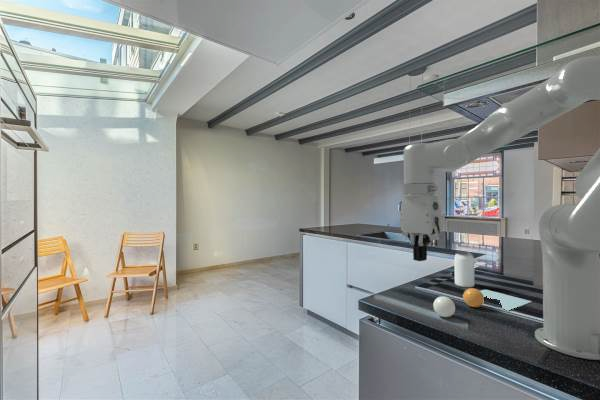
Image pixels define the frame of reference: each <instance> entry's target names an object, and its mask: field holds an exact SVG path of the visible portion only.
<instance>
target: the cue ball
mask: <svg viewBox="0 0 600 400" xmlns="http://www.w3.org/2000/svg"><path fill="white" fill-rule="evenodd" d="M432 305H433V306H432V307H433V310H434V311H435V313H436V314H437V315H438V316H440V317H442V318H450V317H452V316H453V315H454V314H455V311H456V305H455V303H454V301H453V300H452V299H451V298H449V297H448V296H444V295H443V296H442V295H441V296H438V297H437V298H435V299H434V301H433V303H432Z"/></svg>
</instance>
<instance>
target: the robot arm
mask: <svg viewBox="0 0 600 400" xmlns="http://www.w3.org/2000/svg"><path fill="white" fill-rule="evenodd" d="M590 100H596V101H600V55H593V56H592V55H590V56H584V57H579V58H576V59H574V60H571V61H570V62H568V63H566V64H565V65H564V66H563V67H561V69H559V70H558V71H557V72H556V73H555V74H553V76H551V77H549V78H548V79H547V80H544V81H543V82H541V83H540V84H538V85H536V86H534V87H533V88H532V89H529V90H528V91H527V92H524V93H522V94H521V95H520V96H518V97H516V98H513V99H512V100H510V101H508V102H507V103H505V104H504V105H501V106H500V107H498V108H497V109H496V110H494V111H493V112H492V113H490V115H488V116H487V117H486V118H485V119H484V120H482V121H481V122H480V123H478V125H476V126H474V128H472V129H470V130H469V131H468V132H466V133H464V134H462V135H461V136H459V137H457V138H450V139H449V138H448V139H444V140H439V141H434V142H417V143H410V144H409V145H406V146H405V147H404V148H403V195H404V196H402V199H401V205H400V217H399V219H400V223H399V224H400V230H401V231H402V232H401V233H402V236H404V237H405V238H408V239H409V241H410V245H412V248H413V249H412V252H413V253H412V255H413V256H412V257H413V261H417V262H423V261H427V257H428V246H429V245H430V243H431V242H432V241H437V240H438V241H439V240H440V234H441V233H442V232H443V216H442V209H441V203H440V199H439V196H438V195H436V192H438V191H439V186H438V185H436V183H435V182H436V180H435V174H436V173H435V170H436V169H437V170H440V171H442V172H444V173H452V172H456V171H458V170H459V169H461V168H463V167H465V166H467V165H468V164H470V163H472V162H474V161H475V160H476V161H477V160H478V159H480V158H482V157H483V156H486V155H487V154H489V153H491V152H493V151H495V150H497V149H499V148H501V147H503V146H506V145H509V144H511V143H513V142H515V141H516V140H518V139H520V138H522V137H524V136H526V135H528V134H529V133H532V132H533V131H535V130H536V129H539V128H541V127H542V126H544V125H546V124H547V123H550V122H551V121H553V120H555V119H557V118H560V117H561V116H562V115H564V114H566V113H568V112H570V111H572V110H574V109H576V108H578V107H580V106H581V105H582V104H584V103H585V102H588V101H590ZM573 189H574V192H575V194H576V195H577V196H578V198H580V200H579V201H578V202H577V203H560V204H557V205H556V204H555V205H554V206H551V207H550V208H548V209H547V210H545V211H544V212H543V213H542V215H541V216H540V219H539V222H538V232H539V233H538V235H539V239H540V245H541V246H540V247H541V253H542V254H541V256H542V296H543V297H542V306H543V307H542V312H543V313H542V315H543V318H542V319H543V320H542V321H543V322H542V323H543V327H539V328H537V329H535V331H534V338H535V339H536V340H537V341H538V342H539V343H541V345H543V346H545V347H547V348H549V349H552V350H554V351H556V352H558V353H562V354H564V355H568V356H570V357H574V358H578V359H585V360H590V361H591V360H593V361H597V360H598V361H600V147H599V148H598V150H596V152H595V153H594V154H593V156H592V158H590V160H589V161H588V162H587V164H586V165H585V166H584V167H583V168H582V169H581V171H580V172H579V173H578V175H577V176H576V178H575V180H574V184H573Z"/></svg>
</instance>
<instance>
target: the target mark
mask: <svg viewBox="0 0 600 400" xmlns="http://www.w3.org/2000/svg"><path fill="white" fill-rule="evenodd" d="M479 291H480V292H481V293H482V294H483V296H484V297H486V296H487V298H489V299H490V298H491V299H497V300H500V303H501V305H502V308H503V309H505V310H504V311H506V310H507V311H506V312H510V311H512V310H515V309H517V307H518V308H521V307H523V306H525V305H527V304H530V303H532V302H533V301H531V300H528V299H524V298H520V297H516V296H512V295H509V294H505V293H501V292H497V291H492V290H490V289H481V290H479ZM500 303H499V304H500ZM514 308H515V309H514ZM503 309H502V310H503ZM511 309H512V310H511ZM509 310H510V311H509Z"/></svg>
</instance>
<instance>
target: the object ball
mask: <svg viewBox="0 0 600 400" xmlns="http://www.w3.org/2000/svg"><path fill="white" fill-rule="evenodd" d="M480 291H481V290H479V289H477V288H473V287H471V288H467V289H466V290H464V292H463V295H462V296H463V297H462V298H463V300H464V302H465V303H466V305H468V306H469V307H472V308H480V307H482V306H483V305H484V304H483V303H484V296H483V294H482V293H481V292H480Z"/></svg>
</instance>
